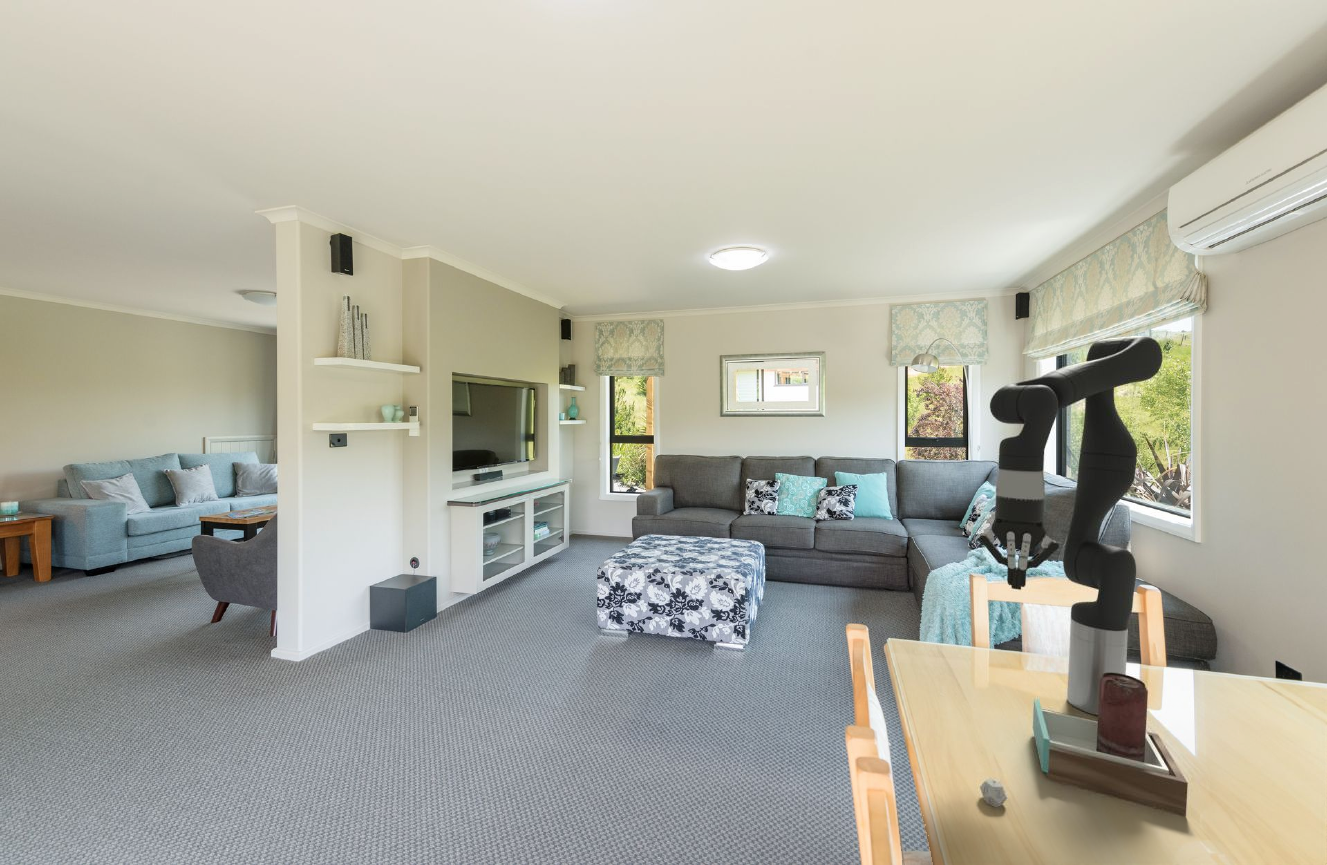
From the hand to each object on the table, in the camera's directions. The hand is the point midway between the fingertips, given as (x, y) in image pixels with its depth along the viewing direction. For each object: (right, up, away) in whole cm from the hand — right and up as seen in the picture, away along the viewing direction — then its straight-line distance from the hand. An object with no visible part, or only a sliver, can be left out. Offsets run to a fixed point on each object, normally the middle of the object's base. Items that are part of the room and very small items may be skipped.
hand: (1015, 588), depth 105 cm
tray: (+7, -26, -10) cm, 29 cm away
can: (+10, -26, -11) cm, 30 cm away
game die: (-15, -28, -19) cm, 37 cm away
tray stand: (+8, -27, -10) cm, 30 cm away
